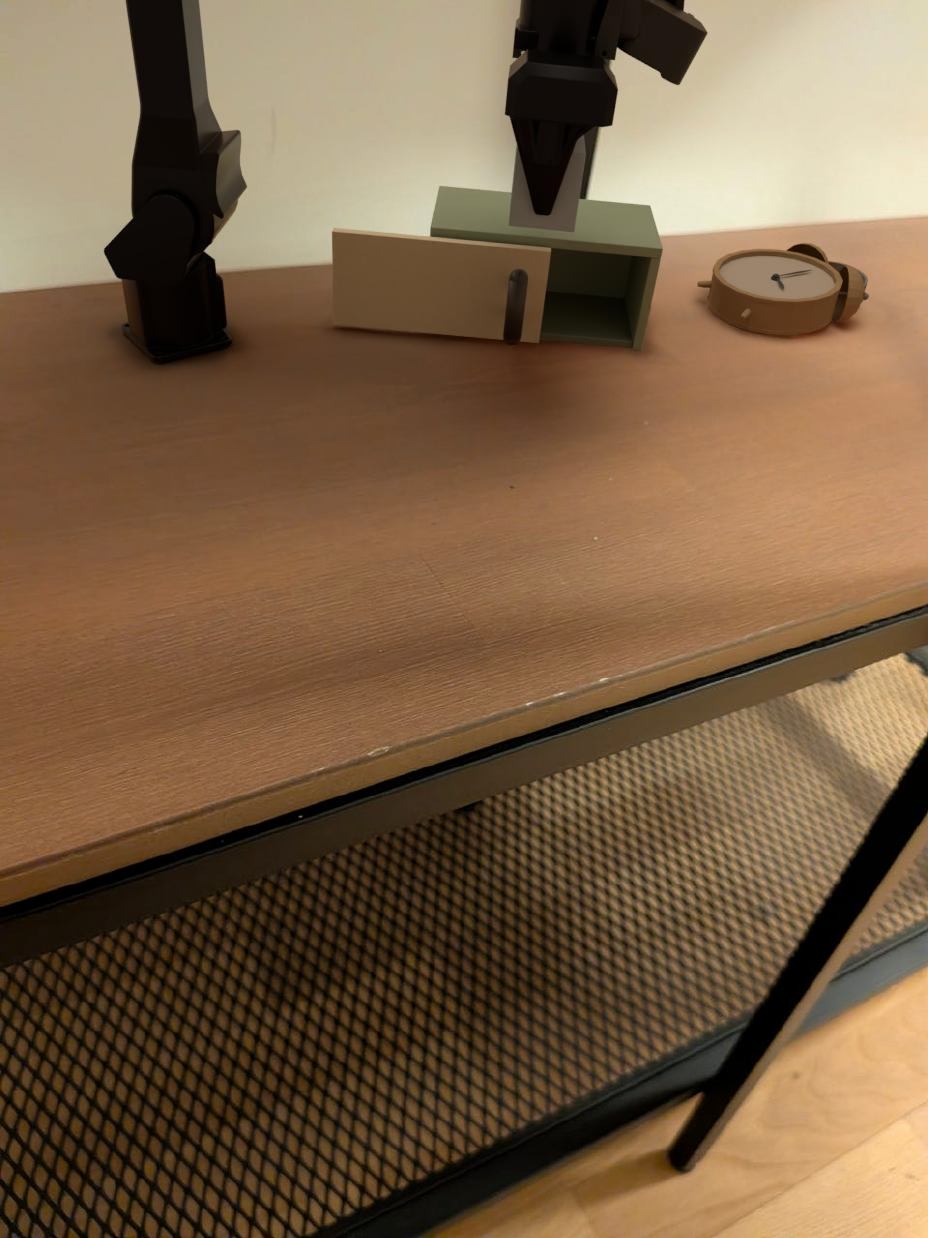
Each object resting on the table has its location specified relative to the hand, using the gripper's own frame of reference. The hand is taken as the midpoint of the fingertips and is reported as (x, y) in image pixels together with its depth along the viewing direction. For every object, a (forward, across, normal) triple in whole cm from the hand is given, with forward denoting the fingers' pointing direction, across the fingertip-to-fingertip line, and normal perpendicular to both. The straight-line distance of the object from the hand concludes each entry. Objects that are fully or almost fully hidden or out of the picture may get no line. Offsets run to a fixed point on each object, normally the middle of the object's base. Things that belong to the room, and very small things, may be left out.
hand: (542, 202), depth 66 cm
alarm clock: (+13, +18, -24) cm, 33 cm away
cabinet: (+13, +11, -1) cm, 17 cm away
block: (+1, 0, 0) cm, 1 cm away
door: (+13, +3, +7) cm, 15 cm away
